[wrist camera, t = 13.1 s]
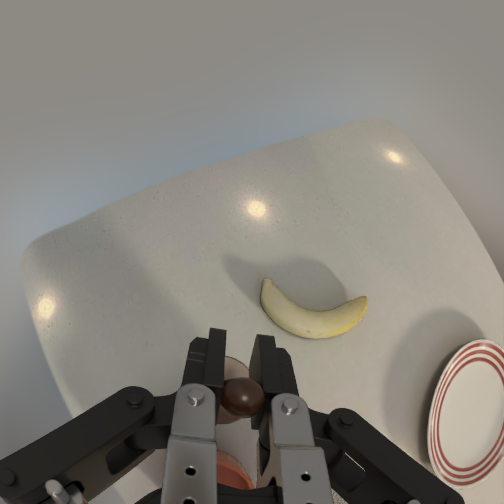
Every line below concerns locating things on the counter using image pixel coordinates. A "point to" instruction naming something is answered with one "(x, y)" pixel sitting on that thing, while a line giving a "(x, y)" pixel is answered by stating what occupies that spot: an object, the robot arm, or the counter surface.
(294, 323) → the fruit
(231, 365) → the wooden pestle
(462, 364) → the dinner plate
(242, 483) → the bowl
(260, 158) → the counter surface
